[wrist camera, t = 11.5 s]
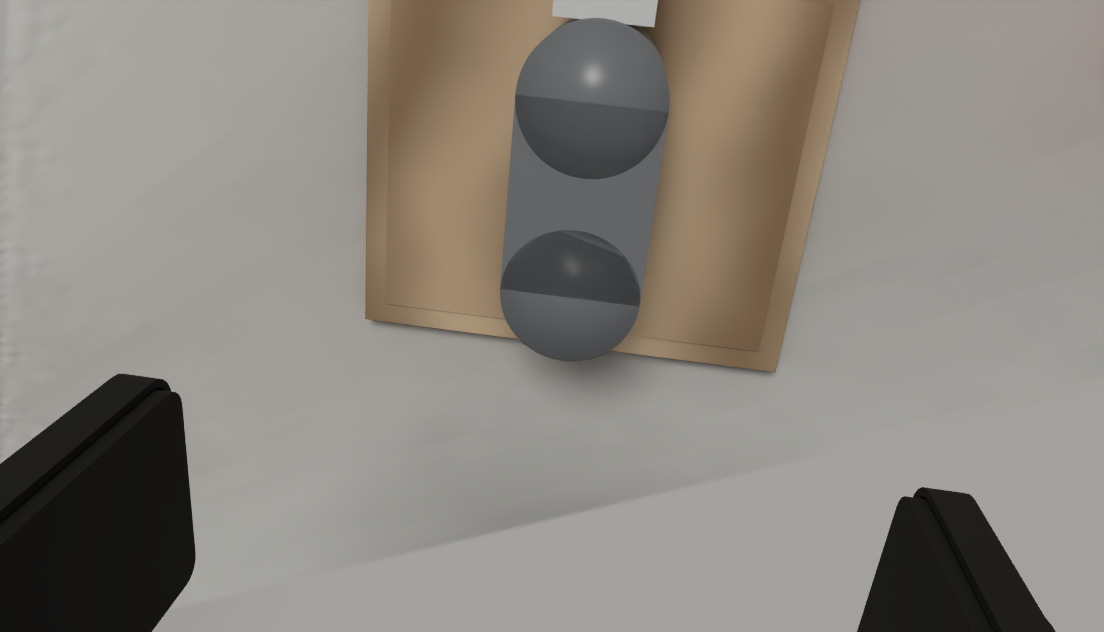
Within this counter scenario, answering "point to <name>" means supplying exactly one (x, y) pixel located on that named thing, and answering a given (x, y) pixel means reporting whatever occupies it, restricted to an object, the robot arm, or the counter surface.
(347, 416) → the counter surface
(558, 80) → the usb stick
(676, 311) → the board
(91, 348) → the counter surface
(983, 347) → the counter surface
